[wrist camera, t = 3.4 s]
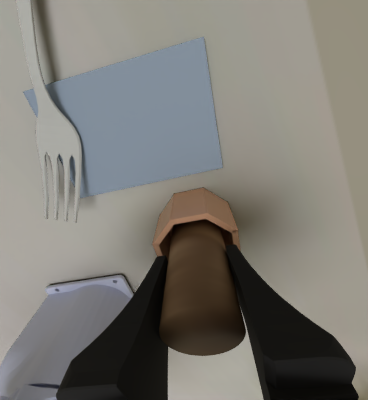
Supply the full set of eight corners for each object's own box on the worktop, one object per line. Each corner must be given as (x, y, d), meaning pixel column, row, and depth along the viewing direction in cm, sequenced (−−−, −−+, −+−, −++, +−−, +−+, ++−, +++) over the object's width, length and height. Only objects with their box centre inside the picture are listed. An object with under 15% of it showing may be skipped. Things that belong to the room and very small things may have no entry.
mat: (82, 195, 16) (80, 197, 16) (27, 92, 13) (23, 91, 12) (221, 166, 15) (222, 167, 15) (203, 38, 11) (203, 36, 11)
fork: (-3, -484, 6) (-78, -711, 4) (91, 212, 16) (81, 223, 15) (-112, -501, 6) (-231, -740, 4) (54, 208, 16) (39, 219, 15)
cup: (172, 250, 19) (168, 284, 15) (153, 197, 16) (144, 224, 13) (233, 240, 18) (243, 274, 15) (224, 182, 16) (235, 207, 12)
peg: (179, 244, 18) (171, 358, 10) (168, 208, 16) (147, 313, 8) (221, 237, 17) (249, 351, 9) (214, 199, 16) (241, 301, 8)
